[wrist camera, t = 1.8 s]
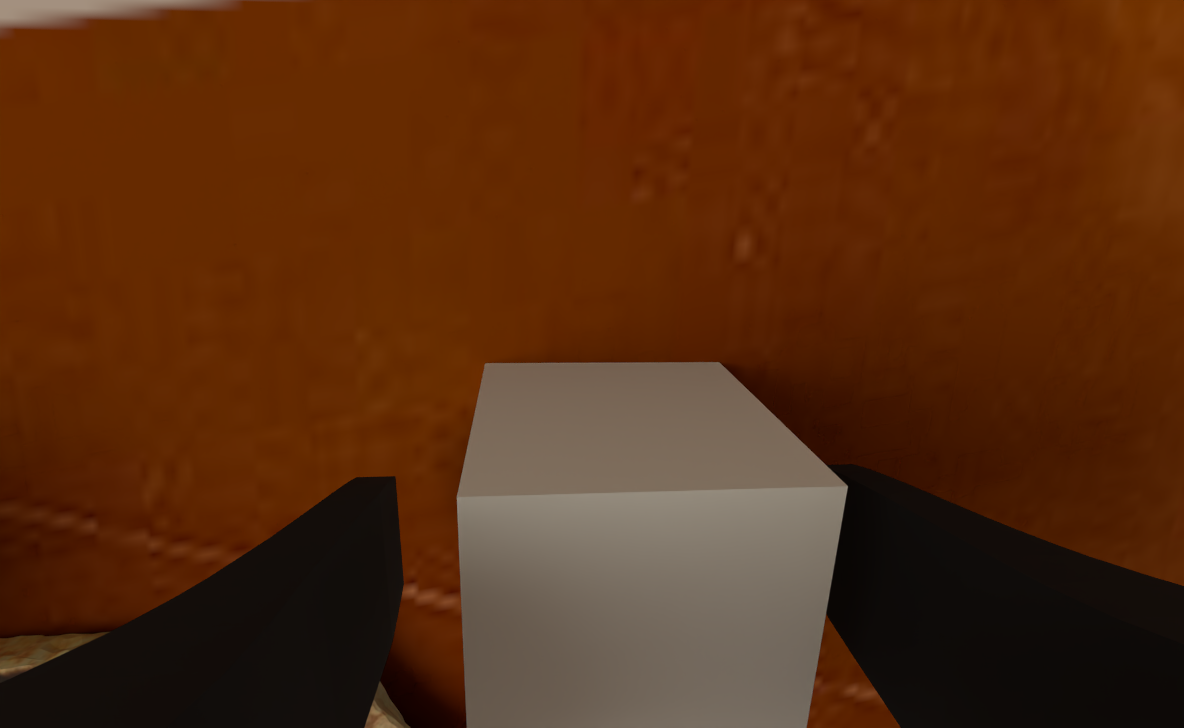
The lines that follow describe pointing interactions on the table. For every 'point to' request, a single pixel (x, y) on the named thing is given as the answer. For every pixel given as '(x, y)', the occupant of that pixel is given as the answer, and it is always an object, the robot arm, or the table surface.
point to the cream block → (640, 551)
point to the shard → (28, 652)
